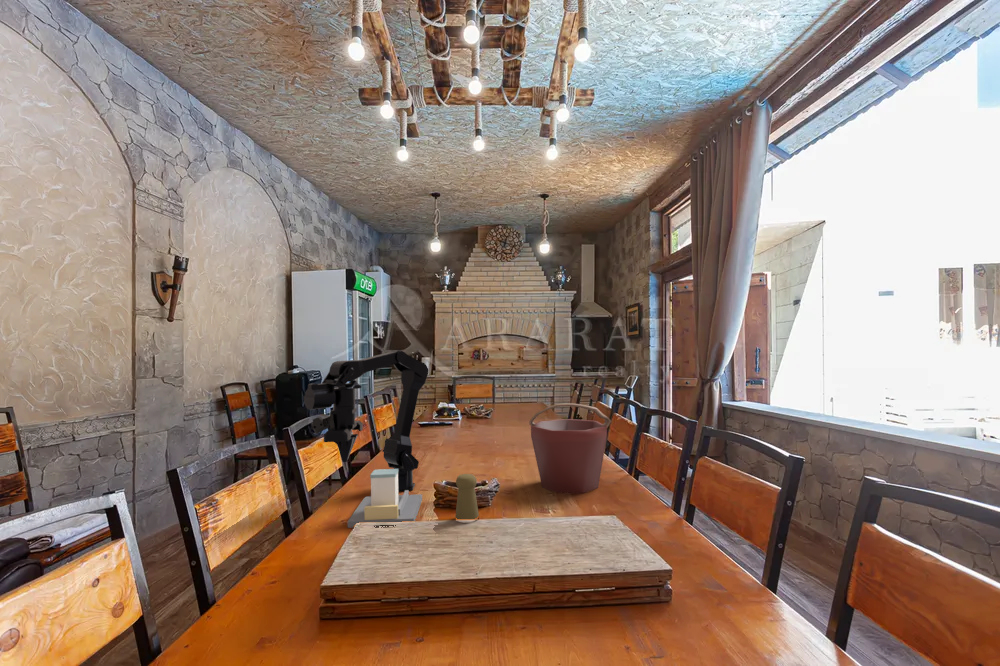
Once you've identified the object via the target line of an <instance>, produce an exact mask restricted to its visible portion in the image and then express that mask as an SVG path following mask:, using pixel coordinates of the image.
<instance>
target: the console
mask: <svg viewBox="0 0 1000 666" xmlns="http://www.w3.org/2000/svg"><path fill="white" fill-rule="evenodd" d="M409 491H410V490H405V491H404V492H403V494H398V498H399V504H398V505H379V506H371V495H370V496H365V497H364V498H363V499H362V500H361V502H360V503H359V505H358V506H357V508H356V509H355V511H353V513H352V515H351V516H350V517H349V519H348V521H347V528H348V529H350V528H353V526H354V525H355V524H356V523H359V522H402V521H415V522H416V520H415V519H417V517H418V513H419V510H420V507H421V504H422V501H423V494H421V493H420V494H419V493H417V494H416V493H415V494H409ZM416 516H417V517H416Z"/></svg>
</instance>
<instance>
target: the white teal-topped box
mask: <svg viewBox="0 0 1000 666" xmlns="http://www.w3.org/2000/svg"><path fill="white" fill-rule="evenodd" d="M369 476H370V496H371V506H379V505H398V504H399V498H398V495H399V491H398V469H394V468H386V469H385V468H382V469H374V470H373V471H372V472H371V473H370V475H369Z"/></svg>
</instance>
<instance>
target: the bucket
mask: <svg viewBox="0 0 1000 666" xmlns="http://www.w3.org/2000/svg"><path fill="white" fill-rule="evenodd" d="M558 407H560V408H561V407H574V408H580V409H585V410H588V411H593V412H594V413H595V414H596V416H598V417H599V418H600V419H603V420H604V423H601V422H600V421H598V420H589V419H588V420H587V419H575V418H561V419H550V420H541V421H540V420H539V421H538V422H534V421H535V420H536V419H537V417H538V416H539V415H541V414H543V413H545V412H547V411H549V410H553V409H555V408H558ZM528 421H529V422H528V423H529V425H530V438H531V443H532V446H533V450H534V456H535V460H536V465H537V469H538V470H537V471H538V473H539V474H538V475H539V478H540V483H541V488H543V489H545V490H548V491H550V492H553V493H555V494H585V493H589V492H591V491H593V490H595V489H598V488H599V485H600V479H601V474H602V467H603V462H604V457H605V450H606V449H605V448H606V442H607V437H608V433H607V432H608V430H607V429H608V427H609V426H610V425H611V423H612V420H611V419H610V417H608V416H607V415H605V414H604V413H603V412H602V411H600V409H599V408H597V407H595V406H590V405H585V404H580V403H556V404H553V405H550V406H547V407H546V408H544V409H542V410H540V411H538V412H536V413H535V414H534V415H533V416H532V417H531V419H530V420H528Z"/></svg>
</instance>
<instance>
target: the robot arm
mask: <svg viewBox="0 0 1000 666" xmlns="http://www.w3.org/2000/svg"><path fill="white" fill-rule="evenodd" d="M390 366H394V368H395V369H396V371H398V372H400V373H401V375H400V380H401V384H402V387H403V388H402V390H403V391H402V395H401V398H400V402H399V408H398V412H397V417H396V422H395V427H394V431H393V434H392V435H391V437H390V438H385V439H384V446H383V449H382V451H381V452H382V453H383V459H384V460H385V462H386V463H387V465H388V468H389V469H398V492H399V491H400V492H401V491H402V492H403V491H404V492H405V490H409V491H413V490H414V488H415V487H416V482H413V481H414V480H413V479H414V476H413V473H414V470H416V469H418V467H419V463H420V461H419V460H418V459H417V458H416V457H415V456H414V455H413V454H412V453H413V444H412V440H411V432H412V427H413V426H412V425H413V421H414V417H415V412H416V407H417V403H418V402H417V401H418V396H419V392H420V390H421V389H422V388H423V386H424V385H425V384H426V381H427V380H428V379H427V378H428V376H429V367H428V366H427V364H426V363H424V362H421V361H420V360H418V359H416V358H415V357H412V356H410V355H408V354H407V353H406V352H404V350H399V349H398V350H390V351H389V352H385V353H380V354H377V355H376V354H375V355H373V356H370V357H366V358H361V359H352V360H351V359H350V360H336V361H334V362H332V363H331V365H330V367H329V370H328V373H327V374H326V376H325V377H324V379H323V380H322V382H321V383H308V385H307V389H306V391H305V392H304V396H303V401H304V403H303V404H304V405H305V408H306V409H307V410H309V411H311V410H319V409H327V408H331V407H332V406H333V407H332V408H333V409H332V410H330V413H329V415H328V416H326V417H324V418H322V417H321V416H317V417H316V418H314V419H312V422H311V423H310V425H311V427H310V430H313V431H314V433H315V435H316V434H319V433H321V432H322V431H324V430H327V431H326V432H325V433H324V434H323V443H335V444H336V446H337V448H338V451H339V454H340V458H341V461H342V463H347V462H348V461H349V457H350V455H351V452H352V450H353V447H354V445H355V443H356V440H357V438H358V436H359V434H357V433H354V432H353V431H358V432H362V431H363V429H364V424H363V422H362V421H361V420H356V412H357V411H358V410H357V409H358V408H357V407H356V403H355V399H356V398H355V389H361V388H362V385H360V383H358V382H357V379H359V378H361V377H362V376H363V375H364V374H367V373H368V372H372V371H376V370H379V369H382V368H386V367H390ZM328 429H329V430H328Z"/></svg>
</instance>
